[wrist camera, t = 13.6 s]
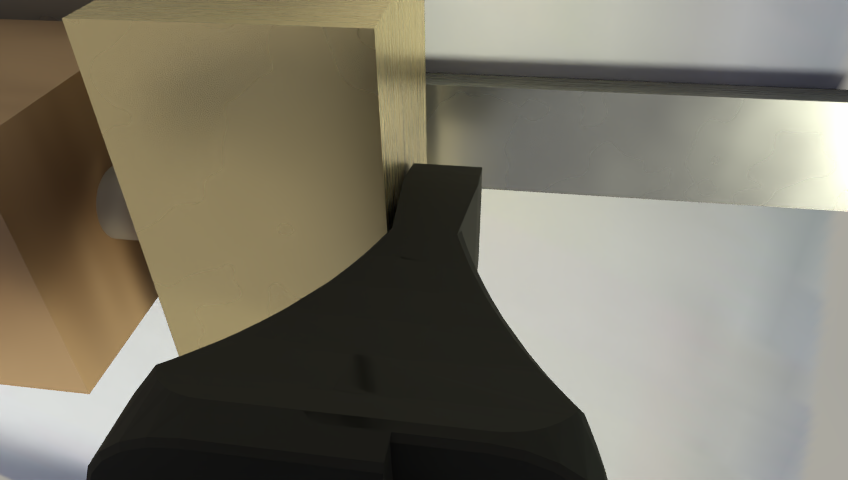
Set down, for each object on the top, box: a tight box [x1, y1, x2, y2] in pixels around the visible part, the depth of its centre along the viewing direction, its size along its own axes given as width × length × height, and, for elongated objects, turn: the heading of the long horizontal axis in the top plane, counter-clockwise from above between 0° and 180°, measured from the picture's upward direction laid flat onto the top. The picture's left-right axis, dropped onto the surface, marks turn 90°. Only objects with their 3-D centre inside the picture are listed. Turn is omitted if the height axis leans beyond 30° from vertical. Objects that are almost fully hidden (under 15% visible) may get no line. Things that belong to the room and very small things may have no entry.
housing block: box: [0, 19, 158, 394], centre depth 12 cm, size 5×6×5 cm
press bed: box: [0, 0, 848, 211], centre depth 13 cm, size 9×22×3 cm, turn 91°
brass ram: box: [62, 0, 427, 356], centre depth 12 cm, size 8×4×4 cm, turn 1°
